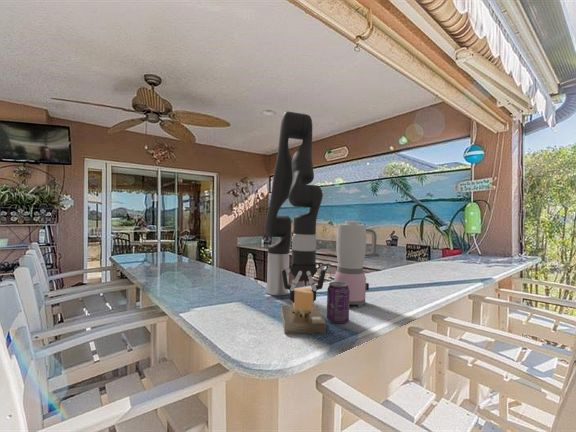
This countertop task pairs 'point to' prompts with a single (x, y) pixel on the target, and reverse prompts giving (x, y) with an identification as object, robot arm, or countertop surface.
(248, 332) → the countertop surface
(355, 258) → the blender
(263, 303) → the countertop surface
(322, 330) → the socket plate
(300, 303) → the plug
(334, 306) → the beverage can
